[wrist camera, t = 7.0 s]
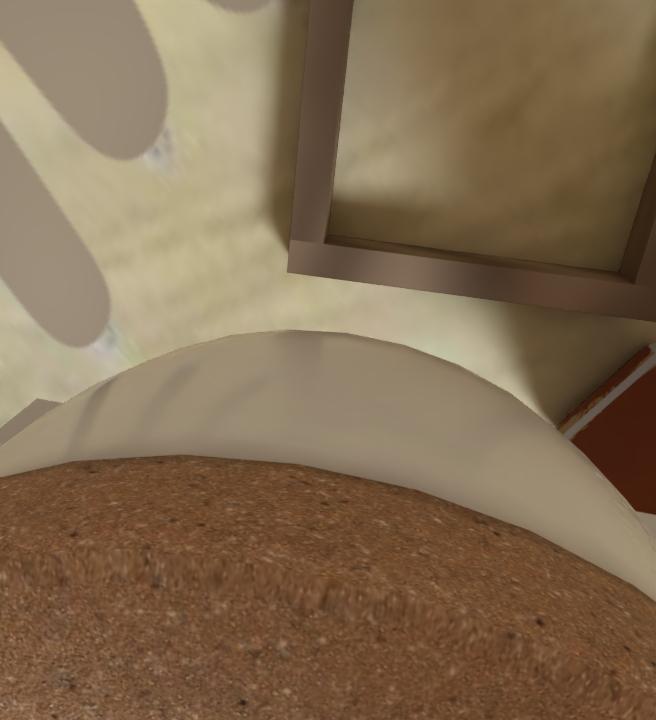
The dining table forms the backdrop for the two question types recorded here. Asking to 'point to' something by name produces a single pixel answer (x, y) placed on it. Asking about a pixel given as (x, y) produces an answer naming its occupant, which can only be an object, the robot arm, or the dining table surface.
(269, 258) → the dining table surface
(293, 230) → the brown wooden tray
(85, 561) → the lidded jar
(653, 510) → the cine camera
